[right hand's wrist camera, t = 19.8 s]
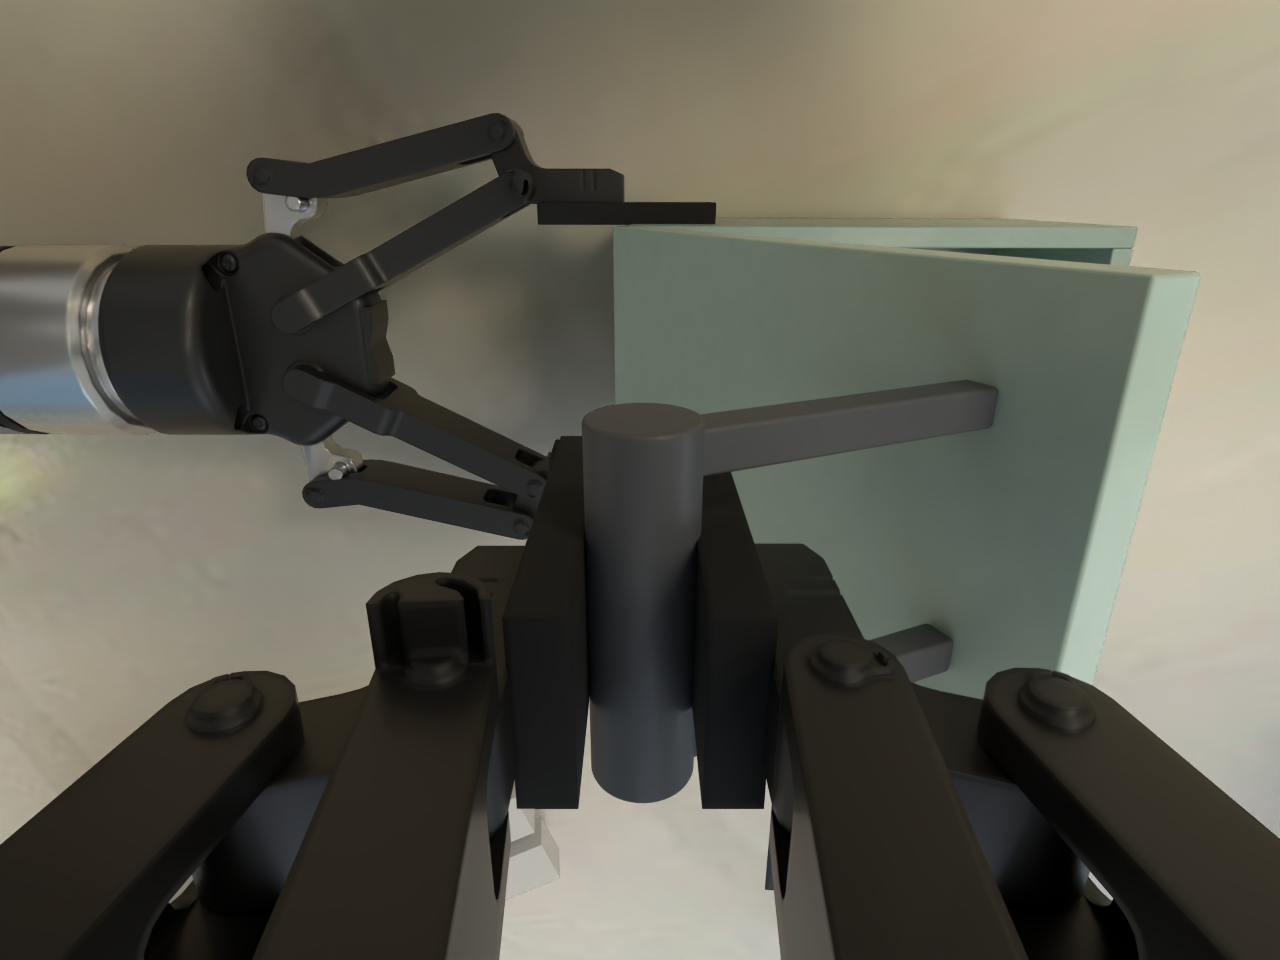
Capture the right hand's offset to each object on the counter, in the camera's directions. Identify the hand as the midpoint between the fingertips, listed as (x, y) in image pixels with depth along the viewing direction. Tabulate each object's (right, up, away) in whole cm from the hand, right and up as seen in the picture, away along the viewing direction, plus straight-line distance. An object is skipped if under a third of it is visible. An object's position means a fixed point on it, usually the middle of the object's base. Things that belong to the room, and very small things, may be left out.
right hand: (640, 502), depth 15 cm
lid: (+4, +2, +4) cm, 6 cm away
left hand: (+3, +6, +15) cm, 17 cm away
